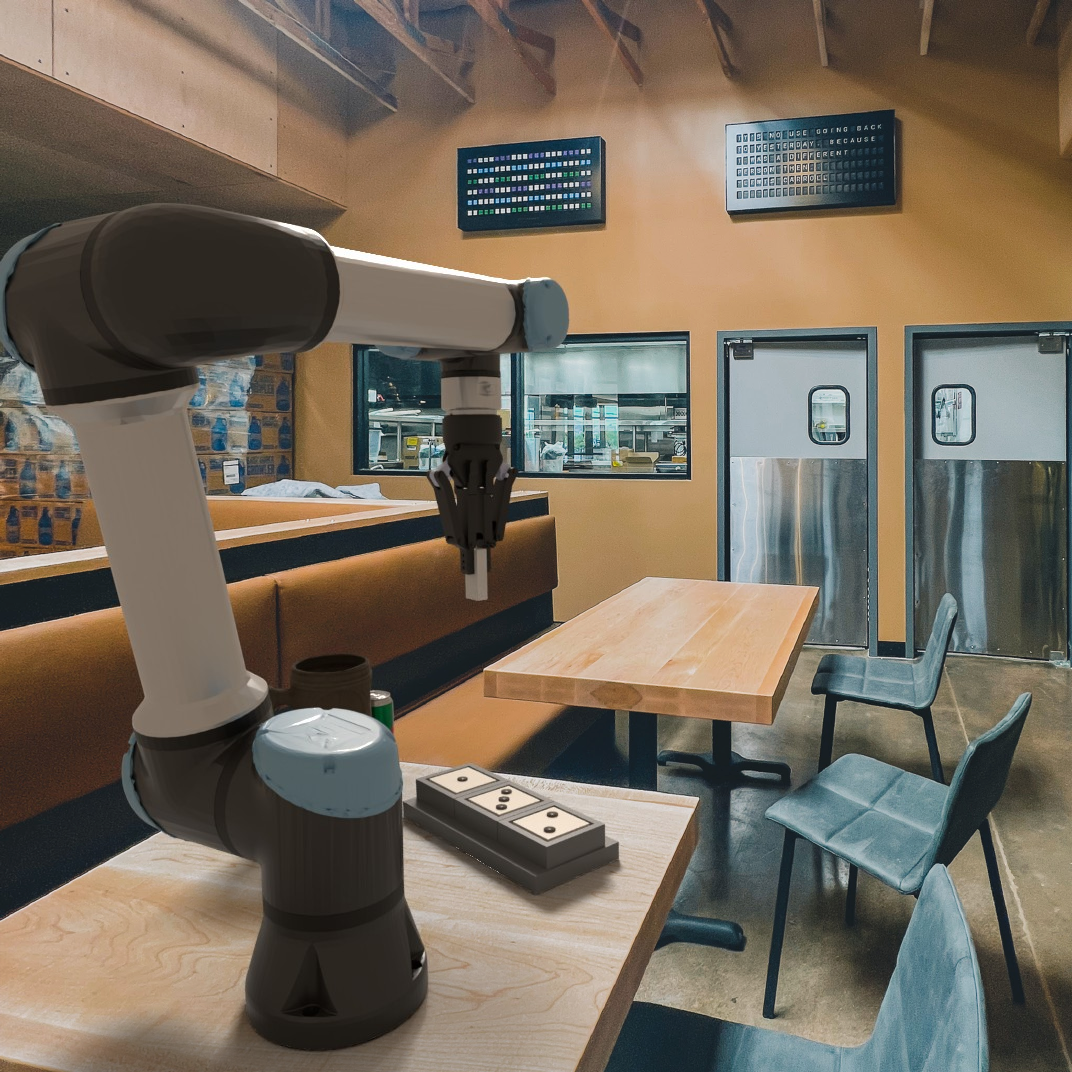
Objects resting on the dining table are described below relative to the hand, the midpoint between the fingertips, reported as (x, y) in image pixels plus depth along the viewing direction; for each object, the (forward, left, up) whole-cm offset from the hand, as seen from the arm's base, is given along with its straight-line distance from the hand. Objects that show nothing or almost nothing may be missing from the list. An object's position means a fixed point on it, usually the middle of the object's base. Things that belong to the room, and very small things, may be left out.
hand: (476, 598), depth 115 cm
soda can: (-7, +15, -27) cm, 31 cm away
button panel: (-5, -12, -26) cm, 29 cm away
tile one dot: (-5, -3, -24) cm, 25 cm away
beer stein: (-19, +8, -27) cm, 34 cm away
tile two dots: (-5, -20, -24) cm, 32 cm away
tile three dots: (-5, -12, -24) cm, 27 cm away
